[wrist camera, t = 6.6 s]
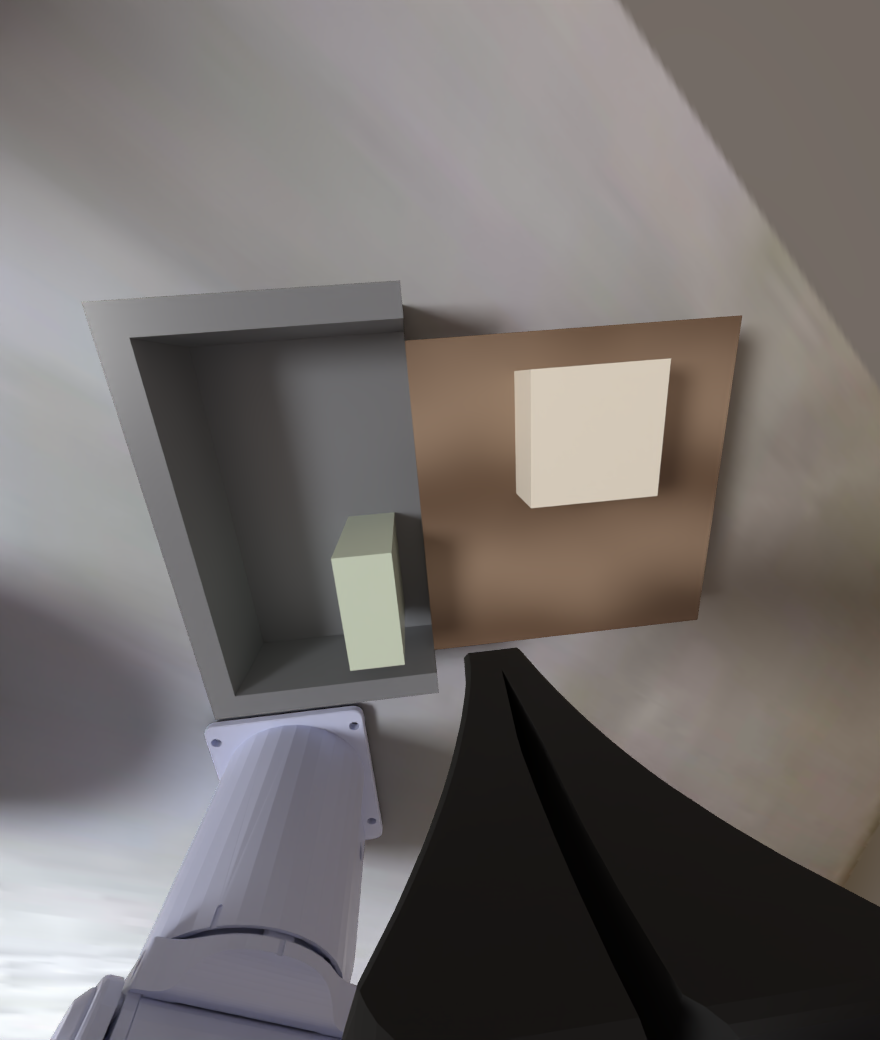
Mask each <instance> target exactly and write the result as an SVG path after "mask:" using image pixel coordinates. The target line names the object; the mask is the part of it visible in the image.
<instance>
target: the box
mask: <svg viewBox="0 0 880 1040" xmlns="http://www.w3.org/2000/svg"><path fill="white" fill-rule="evenodd" d="M81 303H82V306H83V309H84V312H85V315H86V318H87V321H88V324H89V327H90V331H91V334H92V337H93V340H94V343H95V346H96V349H97V352H98V356H99V359H100V362H101V365H102V368H103V371H104V374H105V377H106V380H107V384H108V387H109V390H110V393H111V396H112V399H113V402H114V405H115V408H116V412H117V415H118V418H119V421H120V424H121V427H122V430H123V433H124V437H125V440H126V443H127V446H128V449H129V452H130V455H131V458H132V461H133V465H134V468H135V471H136V474H137V477H138V480H139V483H140V486H141V489H142V493H143V496H144V499H145V502H146V505H147V508H148V511H149V514H150V518H151V521H152V524H153V527H154V530H155V533H156V536H157V539H158V542H159V546H160V549H161V552H162V555H163V558H164V561H165V564H166V567H167V570H168V574H169V577H170V580H171V583H172V586H173V589H174V592H175V595H176V599H177V602H178V605H179V608H180V611H181V614H182V617H183V620H184V623H185V627H186V630H187V633H188V636H189V639H190V642H191V645H192V648H193V651H194V655H195V658H196V661H197V664H198V667H199V670H200V673H201V676H202V680H203V683H204V686H205V689H206V692H207V695H208V698H209V701H210V704H211V708H212V711H213V714H214V717H215V720H216V719H224V718H232V717H241V716H249V715H257V714H265V713H274V712H282V711H290V710H299V709H307V708H315V707H324V706H332V705H340V704H349V703H357V702H365V701H373V700H382V699H390V698H398V697H407V696H415V695H423V694H432V693H439V689H438V679H437V669H436V660H435V651H434V642H433V633H432V624H431V613H430V603H429V592H428V582H427V571H426V561H425V550H424V540H423V529H422V519H421V508H420V498H419V487H418V477H417V466H416V456H415V445H414V435H413V424H412V414H411V403H410V393H409V382H408V372H407V361H406V351H405V340H404V322H403V308H402V298H401V287H400V281H386V282H371V283H356V284H341V285H326V286H311V287H296V288H281V289H266V290H251V291H236V292H221V293H206V294H191V295H176V296H161V297H146V298H131V299H116V300H101V301H87V302H81ZM392 512H394V513H395V521H396V530H397V539H398V548H399V557H400V565H401V574H402V583H403V592H404V601H405V665H398V666H389V667H380V668H371V669H362V670H354V671H350V666H349V660H348V655H347V649H346V643H345V637H344V631H343V626H342V620H341V614H340V608H339V603H338V597H337V591H336V585H335V579H334V574H333V568H332V562H331V557H332V555H333V553H334V550H335V548H336V545H337V543H338V541H339V538H340V536H341V533H342V531H343V528H344V526H345V524H346V521H347V519H348V517H349V516H360V515H371V514H381V513H392Z"/></svg>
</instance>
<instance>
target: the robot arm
mask: <svg viewBox="0 0 880 1040" xmlns="http://www.w3.org/2000/svg"><path fill="white" fill-rule="evenodd" d="M464 663H465V677H466V688H465V698H464V705H463V712H462V718H461V724H460V728H459V733H458V737H457V742H456V746H455V750H454V754H453V758H452V762H451V766H450V769H449V773H448V776H447V779H446V783H445V786H444V789H443V792H442V795H441V798H440V801H439V804H438V807H437V809H436V812H435V815H434V818H433V821H432V823H431V826H430V829H429V832H428V834H427V837H426V839H425V842H424V844H423V847H422V849H421V852H420V854H419V856H418V859H417V861H416V863H415V866H414V868H413V870H412V872H411V875H410V877H409V879H408V882H407V884H406V886H405V888H404V891H403V893H402V895H401V898H400V900H399V902H398V904H397V906H396V908H395V911H394V913H393V915H392V917H391V919H390V921H389V923H388V925H387V927H386V929H385V931H384V933H383V935H382V937H381V939H380V941H379V943H378V945H377V946H376V948H375V950H374V952H373V954H372V956H371V958H370V960H369V962H368V964H367V966H366V968H365V970H364V972H363V974H362V976H361V978H360V980H359V982H358V985H354V984H351V983H350V980H351V976H352V972H353V967H354V961H355V951H356V939H357V928H358V916H359V904H360V893H361V881H362V869H363V858H364V846H365V840H369V839H375V838H378V837H380V836H381V835H382V829H383V825H382V819H381V813H380V808H379V802H378V796H377V790H376V784H375V778H374V773H373V767H372V761H371V755H370V749H369V743H368V738H367V732H366V726H365V720H364V714H363V711H362V709H361V708H360V707H358V706H346V707H338V708H330V709H321V710H313V711H305V712H297V713H288V714H280V715H272V716H264V717H255V718H247V719H239V720H230V721H222V722H214V723H211V724H209V725H208V727H207V728H206V730H205V732H204V737H205V740H206V743H207V746H208V749H209V752H210V754H211V757H212V760H213V763H214V766H215V769H216V772H217V775H218V778H219V781H220V782H219V784H218V787H217V789H216V791H215V793H214V795H213V797H212V800H211V802H210V804H209V806H208V808H207V810H206V813H205V815H204V817H203V819H202V821H201V823H200V826H199V828H198V830H197V832H196V834H195V836H194V839H193V841H192V843H191V845H190V847H189V849H188V852H187V854H186V856H185V858H184V860H183V862H182V865H181V867H180V869H179V871H178V873H177V875H176V878H175V880H174V882H173V884H172V886H171V888H170V891H169V893H168V895H167V897H166V899H165V901H164V904H163V906H162V908H161V910H160V912H159V914H158V917H157V919H156V921H155V923H154V925H153V927H152V930H151V932H150V934H149V936H148V938H147V940H146V943H145V945H144V947H143V949H142V951H141V953H140V956H139V958H138V960H137V962H136V964H135V965H134V967H133V968H132V970H131V972H130V973H129V975H128V976H127V978H126V979H125V981H124V977H120V976H115V975H106V976H105V977H103V978H102V979H101V980H100V982H99V983H98V984H97V986H96V987H93V988H91V989H89V990H88V991H87V992H85V993H84V994H82V995H81V996H79V997H78V998H77V999H75V1000H74V1001H73V1002H72V1004H71V1005H70V1007H69V1008H68V1010H67V1012H66V1013H65V1015H64V1017H63V1018H62V1020H61V1022H60V1023H59V1025H58V1027H57V1029H56V1030H55V1032H54V1034H53V1036H52V1037H51V1039H50V1040H880V907H879V906H877V905H875V904H873V903H871V902H869V901H868V900H866V899H864V898H862V897H860V896H858V895H856V894H854V893H852V892H850V891H848V890H847V889H845V888H843V887H841V886H839V885H837V884H835V883H833V882H831V881H829V880H828V879H826V878H824V877H822V876H820V875H818V874H816V873H814V872H812V871H810V870H809V869H807V868H805V867H803V866H801V865H799V864H797V863H795V862H793V861H791V860H790V859H788V858H786V857H784V856H782V855H781V854H779V853H777V852H775V851H774V850H772V849H770V848H769V847H767V846H765V845H764V844H762V843H760V842H758V841H757V840H755V839H753V838H752V837H750V836H748V835H746V834H745V833H743V832H741V831H740V830H738V829H736V828H735V827H733V826H731V825H730V824H728V823H726V822H725V821H723V820H722V819H720V818H718V817H717V816H715V815H714V814H712V813H711V812H709V811H708V810H706V809H705V808H703V807H702V806H700V805H699V804H697V803H696V802H694V801H692V800H691V799H689V798H688V797H686V796H685V795H683V794H682V793H680V792H679V791H677V790H676V789H674V788H673V787H671V786H670V785H668V784H667V783H666V782H664V781H663V780H661V779H660V778H659V777H657V776H656V775H654V774H653V773H652V772H650V771H649V770H648V769H646V768H645V767H644V766H642V765H641V764H640V763H639V762H637V761H636V760H635V759H633V758H632V757H631V756H629V755H628V754H627V753H626V752H624V751H623V750H622V749H621V748H619V747H618V746H617V745H616V744H615V743H613V742H612V741H611V740H610V739H609V738H608V737H606V736H605V735H604V734H603V733H602V732H601V731H600V730H598V729H597V728H596V727H595V726H594V725H593V724H592V723H590V722H589V721H588V720H587V719H586V718H585V717H584V716H583V715H582V714H581V713H580V712H578V711H577V710H576V709H575V708H574V707H573V706H572V705H571V704H570V703H569V702H568V701H567V700H566V699H565V698H564V697H563V696H562V695H561V694H560V693H559V692H558V691H557V690H556V689H555V688H554V687H553V686H552V685H551V684H550V683H549V682H548V681H547V680H546V678H545V677H544V676H543V675H542V674H541V673H540V672H539V671H538V670H537V669H536V668H535V666H534V665H533V664H532V663H531V662H530V661H529V660H528V659H527V657H526V656H525V655H524V654H523V653H522V652H521V651H520V650H519V649H518V648H509V649H501V650H492V651H484V652H476V653H468V654H467V655H466V656H465V657H464ZM352 722H356V723H358V724H352ZM216 739H218V740H220V741H218V740H216Z"/></svg>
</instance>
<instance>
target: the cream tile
mask: <svg viewBox="0 0 880 1040" xmlns="http://www.w3.org/2000/svg"><path fill="white" fill-rule="evenodd" d="M670 364H671V358H669V359H656V360H644V361H631V362H619V363H606V364H593V365H581V366H568V367H556V368H543V369H531V370H520V371H514V386H515V449H516V494H517V495H518V496H519V497H520V498H521V499H522V500H523V501H524V502H525V503H526V504H527V505H528V506H529V507H530V508H539V507H549V506H560V505H570V504H580V503H590V502H600V501H611V500H621V499H631V498H641V497H652V496H657V495H658V484H659V474H660V464H661V454H662V444H663V434H664V424H665V414H666V404H667V394H668V384H669V374H670Z"/></svg>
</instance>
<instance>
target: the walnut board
mask: <svg viewBox="0 0 880 1040" xmlns="http://www.w3.org/2000/svg"><path fill="white" fill-rule="evenodd" d="M741 320H742V316H729V317H716V318H702V319H689V320H676V321H662V322H649V323H635V324H622V325H609V326H595V327H582V328H568V329H555V330H542V331H528V332H515V333H501V334H488V335H474V336H461V337H448V338H434V339H421V340H407V341H405V351H406V361H407V372H408V382H409V393H410V403H411V414H412V424H413V435H414V445H415V456H416V466H417V477H418V487H419V498H420V508H421V519H422V529H423V540H424V550H425V561H426V571H427V582H428V592H429V603H430V613H431V624H432V633H433V642H434V650H437V649H446V648H454V647H463V646H472V645H480V644H489V643H498V642H507V641H515V640H524V639H533V638H541V637H550V636H559V635H568V634H576V633H585V632H594V631H602V630H611V629H620V628H628V627H637V626H646V625H655V624H663V623H672V622H681V621H689V620H697V618H698V612H699V605H700V598H701V591H702V585H703V578H704V571H705V564H706V557H707V551H708V544H709V537H710V530H711V524H712V517H713V510H714V503H715V496H716V490H717V483H718V476H719V469H720V462H721V456H722V449H723V442H724V435H725V429H726V422H727V415H728V408H729V401H730V395H731V388H732V381H733V374H734V368H735V361H736V354H737V347H738V340H739V334H740V327H741ZM669 358H671V364H670V374H669V384H668V394H667V404H666V414H665V424H664V434H663V444H662V454H661V464H660V474H659V484H658V495H657V496H652V497H641V498H631V499H621V500H611V501H600V502H590V503H580V504H570V505H560V506H549V507H539V508H530V507H529V506H528V505H527V504H526V503H525V502H524V501H523V500H522V499H521V498H520V497H519V496H518V495H517V494H516V449H515V386H514V371H520V370H531V369H543V368H556V367H568V366H581V365H593V364H606V363H619V362H631V361H644V360H656V359H669Z"/></svg>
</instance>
